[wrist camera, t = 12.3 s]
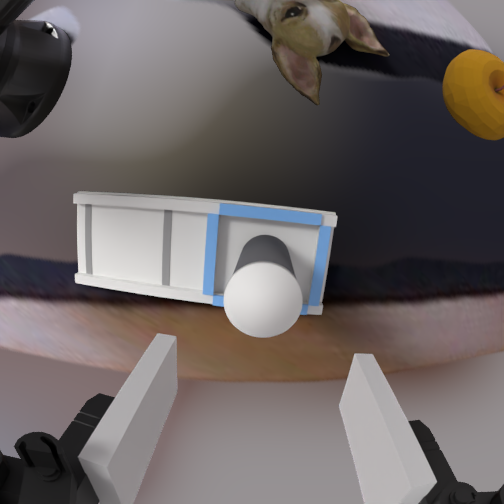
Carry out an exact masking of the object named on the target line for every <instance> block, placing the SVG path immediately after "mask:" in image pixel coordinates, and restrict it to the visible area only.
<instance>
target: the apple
mask: <svg viewBox="0 0 504 504" xmlns="http://www.w3.org/2000/svg"><path fill="white" fill-rule="evenodd" d="M443 97H444V102H445V104H446V107H447V109H448V111H449V112H450V114H451V116H452V117H453V118H454V119H455V120H456V122H457V123H459V124H460V125H462V126H463V127H464V128H465V129H467V130H468V131H469V132H471V133H472V134H474V135H475V136H478V137H481V138H484V139H487V140H498V139H501V138H504V62H502V61H501V60H500V59H499V58H498V57H496V56H495V55H493V54H491V53H488V52H485V51H481V50H474V49H471V50H467V51H465V52H462V53H461V54H459V55H458V56H457V57H456V58H454V59H453V60H452V61H451V62H450V64H449V65H448V67H447V69H446V73H445V76H444V80H443Z"/></svg>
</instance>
